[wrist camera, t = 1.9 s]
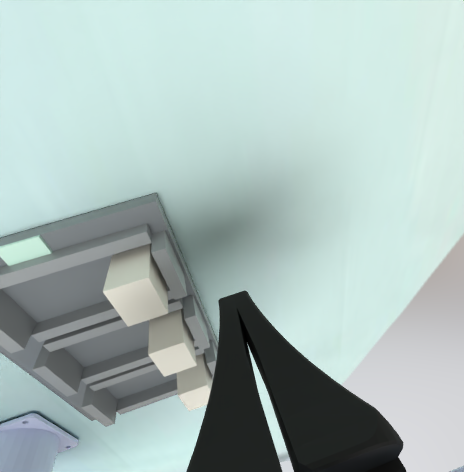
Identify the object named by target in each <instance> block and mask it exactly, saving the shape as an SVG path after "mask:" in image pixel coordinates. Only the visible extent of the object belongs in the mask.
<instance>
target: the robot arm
mask: <svg viewBox="0 0 464 472" xmlns="http://www.w3.org/2000/svg"><path fill="white" fill-rule="evenodd" d="M219 309H220V329H219V343H218V351H217V359H216V366H215V372H214V377H213V382H212V387H211V391H210V396H209V400H208V404H207V408H206V412H205V416H204V419H203V422H202V426H201V429H200V433H199V436H198V439H197V443H196V446H195V449H194V452H193V454H192V457H191V460H190V463H189V466H188V469H187V472H282V469H281V466H280V462H279V459H278V456H277V453H276V449H275V446H274V443H273V440H272V436H271V433H270V430H269V427H268V423H267V420H266V417H265V414H264V410H263V407H262V404H261V401H260V397H259V393H258V389H257V385H256V380H255V376H254V372H253V367H252V363H251V358H250V354H249V349H248V346H249V348H250V350H251V353H252V355H253V357H254V360H255V362H256V365H257V367H258V369H259V372H260V374H261V376H262V379H263V381H264V384H265V386H266V389H267V391H268V394H269V397H270V400H271V403H272V406H273V409H274V412H275V415H276V418H277V421H278V424H279V427H280V430H281V433H282V436H283V439H284V442H285V445H286V448H287V451H288V454H289V457H290V460H291V463H292V466H293V469H294V472H406V469H405V467H404V466H403V464H402V463H401V461H400V459H399V458H398V456H399V454H400V452H401V451H402V449H403V441H402V440H401V439H400V437H399V435H398V434H397V432H396V431H395V430H394V429H393V427H392V426H391V425H390V424H389V422H388V421H387V420H386V419H385V418H384V417H383V416H382V415H381V414H380V412H379V411H378V410H376V409H375V408H374V407H372V406H371V405H369V404H368V403H366V402H365V401H363V400H362V399H360V398H359V397H357V396H356V395H354V394H353V393H351V392H350V391H348V390H347V389H346V388H344V387H343V386H341V385H340V384H339V383H337V382H336V381H334V380H333V379H332V378H331V377H329V376H328V375H327V374H325V373H324V372H323V371H321V370H320V369H319V368H318V367H316V366H315V365H314V364H313V363H311V362H310V361H309V360H308V359H307V358H305V357H304V356H303V355H302V354H301V353H300V352H299V351H297V350H296V349H295V348H294V347H293V346H292V345H291V344H290V343H289V342H288V341H287V340H286V339H285V338H284V337H283V336H282V335H281V334H280V333H279V332H278V331H277V330H276V329H275V328H274V327H273V326H272V324H271V323H270V322H269V321H268V320H267V319H266V318H265V316H264V315H263V314H262V313H261V311H260V310H259V309H258V308H257V306H256V305H255V303H254V302H253V301H252V299H251V297H250V296H249V294H248V292H247V291H242V292H239V293H236V294H233V295H230V296H227V297H224V298H221V299H220V300H219ZM247 343H248V345H247ZM78 442H79V440H78V439H76V438H75V437H73V436H71V435H70V434H68V433H67V432H65V431H63V430H62V429H60V428H59V427H57V426H56V425H54V424H52V423H51V422H49V421H48V420H46V419H44V418H43V417H41V416H40V415H38V414H36V413H31V414H28V415H25V416H22V417H19V418H16V419H13V420H11V421H8V422H5V423H2V424H0V472H52V470H53V467H54V463H55V459H56V456H57V453H59V452H62V451H65V450H68V449H70V448H73V447H76V446H77V445H78ZM450 472H464V466H462V467H459V468H457V469H455V470H452V471H450Z"/></svg>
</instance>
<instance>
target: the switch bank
mask: <svg viewBox="0 0 464 472" xmlns="http://www.w3.org/2000/svg"><path fill="white" fill-rule="evenodd" d="M147 244H151V246H152V248H151V253H152V255H153V257H154V259H155V261H156V263H157V265H158V267H159V269H160V271H161V273H162V275H163V277H164V279H165V281H166V283H167V291H168V313H170V312H173V311H176V310H179V309H183V311H184V319H185V321H186V323H187V325H188V327H189V329H190V331H191V333H192V335H193V340H194V348H195V355H196V356H197V355H200V354H203V353H204V354H205V356H206V362H207V365H208V367H209V369H210V371H211V374H212V379H213V377H214V372H215V366H216V359H217V351H218V342H217V339H216V337H215V334H214V332H213V330H212V327H211V325H210V322H209V320H208V317H207V315H206V313H205V310H204V308H203V305H202V303H201V300H200V298H199V296H198V293H197V291H196V288H195V286H194V283H193V281H192V279H191V276H190V274H189V271H188V269H187V266H186V264H185V262H184V259H183V257H182V254H181V252H180V250H179V247H178V245H177V242H176V240H175V237H174V235H173V233H172V230H171V228H170V225H169V223H168V220H167V218H166V216H165V213H164V211H163V208H162V206H161V203H160V201H159V199H158V196H157V194H156V193H154V194H151V195H147V196H144V197H140V198H137V199H133V200H130V201H127V202H123V203H120V204H116V205H113V206H109V207H106V208H102V209H99V210H95V211H92V212H88V213H85V214H82V215H78V216H75V217H71V218H68V219H64V220H61V221H57V222H54V223H50V224H47V225H44V226H40V227H37V228H33V229H30V230H26V231H23V232H19V233H16V234H12V235H9V236H5V237H2V238H0V352H1V353H2V354H3V355H5V356H6V357H7V358H9V359H10V360H11V361H13V362H14V363H15V364H17V365H18V366H19V367H21V368H22V369H23V370H25V371H26V372H27V373H29V374H30V375H31V376H33V377H34V378H35V379H37V380H38V381H39V382H41V383H42V384H43V385H45V386H46V387H47V388H49V389H50V390H51V391H53V392H54V393H55V394H57V395H58V396H59V397H61V398H62V399H63V400H65V401H66V402H67V403H69V404H70V405H71V406H73V407H74V408H75V409H77V410H78V411H79V412H81V413H82V414H83V415H85V416H86V417H87V418H89V419H90V420H91V421H93V420H98V421H99V422H100V423H102V424H103V425H104V426H109V425H112V424H115V418H116V412H118V413H119V414H123V413H126V412H129V411H132V410H134V409H137V408H140V407H143V406H146V405H148V404H151V403H154V402H157V401H160V400H162V399H165V398H168V397H171V396H173V395H176V394H178V390H177V373H174V374H171V375H168V376H166V377H164V376H163V374H162V373H161V372H160V370H159V369H158V367H157V366H156V365H155V363H154V362H153V361H152V359H151V358H150V356H149V355H148V344H149V320H147V321H144V322H141V323H138V324H135V325H132V326H129V327H128V326H127V325H126V323H125V322H124V321H123V319H122V318H121V316H120V315H119V314H118V312H117V311H116V310H115V308H114V307H113V305H112V304H111V303H110V301H109V300H108V299H107V297H106V296H105V294H104V293H103V289H104V285H105V281H106V277H107V273H108V269H109V265H110V262H111V258H112V255H114V254H118V253H121V252H124V251H127V250H131V249H134V248H137V247H141V246H144V245H147Z"/></svg>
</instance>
